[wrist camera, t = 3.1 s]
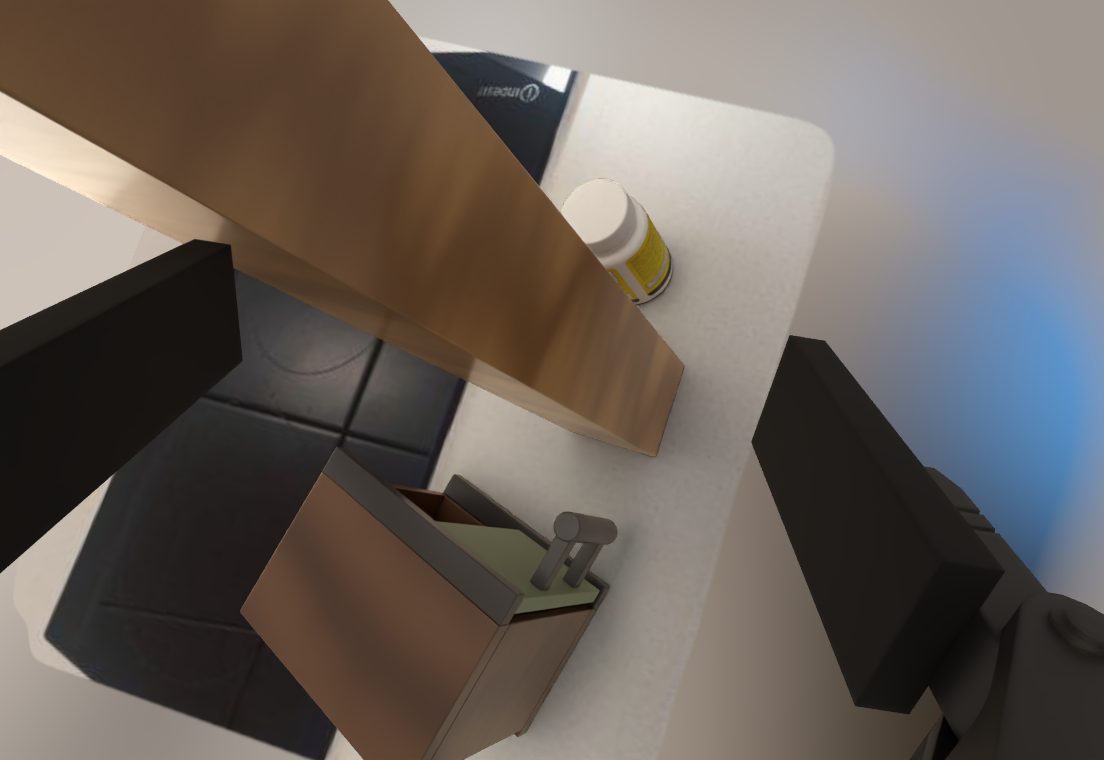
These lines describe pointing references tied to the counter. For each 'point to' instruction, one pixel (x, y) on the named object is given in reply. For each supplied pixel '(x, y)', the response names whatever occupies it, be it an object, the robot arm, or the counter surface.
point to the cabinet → (408, 617)
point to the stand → (336, 187)
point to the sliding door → (542, 558)
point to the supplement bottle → (620, 237)
